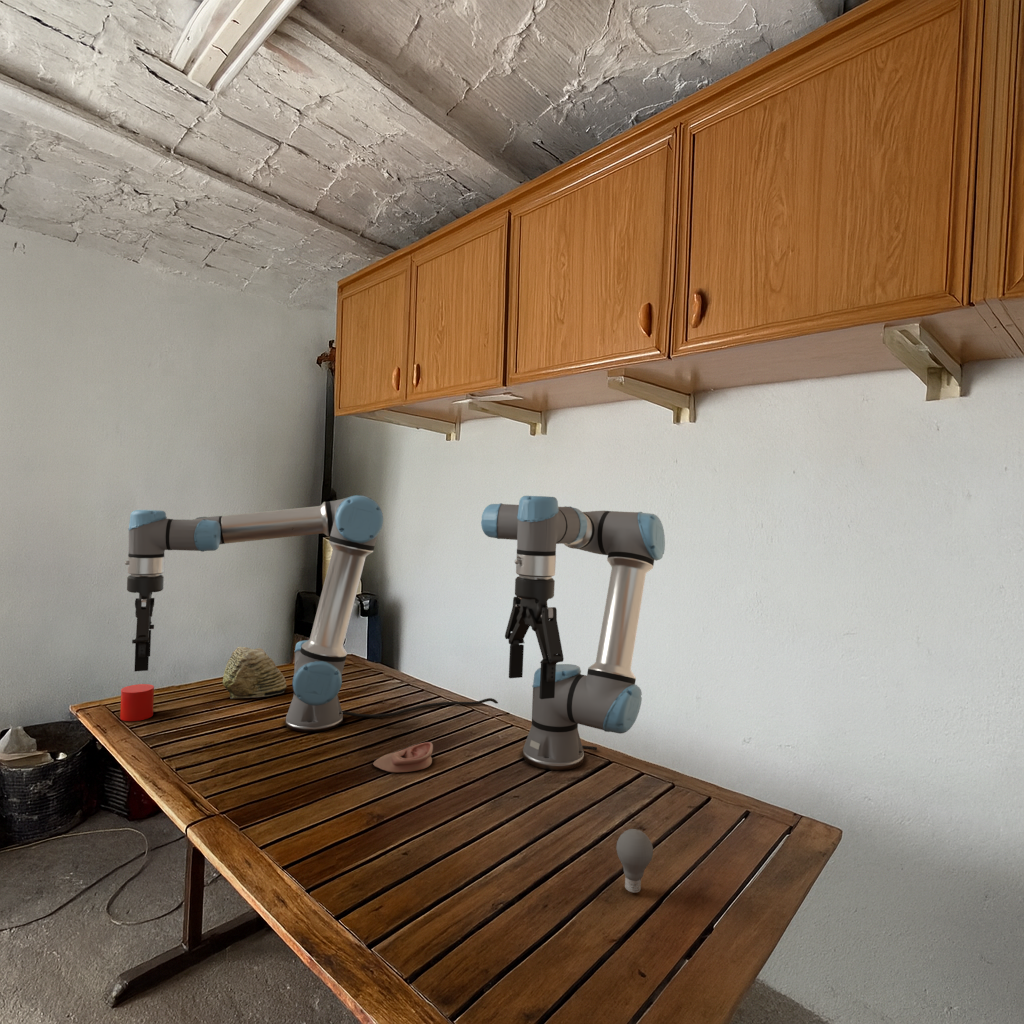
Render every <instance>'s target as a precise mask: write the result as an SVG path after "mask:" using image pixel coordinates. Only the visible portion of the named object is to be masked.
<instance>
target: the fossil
mask: <svg viewBox="0 0 1024 1024" xmlns="http://www.w3.org/2000/svg"><path fill="white" fill-rule="evenodd" d="M222 676H223V677H222V685H223V687H224V688H225V690H226V691H228V693H229V698H230V699H250V698H264V697H271V696H275V695H281V694H284V693H285V691H286V689H287V687H288V686H287V680H286V678H285V676H284V674H283V673H282V672H281V669H279V668H278V667H277V665H276V663H275V662H274V660H273V659H272V658H271V657H270V656H269V655H268V654H267V653H266V652H265V650H264V649H263V648H260V647H258V648H251V647H247V646H246V647H245V646H238V647H237V648H236V649H235V650H233V651H232V653H231V656H230V657H229V659H228V660H227V663H226V666H225V668H224V671H223V675H222Z"/></svg>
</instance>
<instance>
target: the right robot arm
mask: <svg viewBox="0 0 1024 1024" xmlns="http://www.w3.org/2000/svg"><path fill="white" fill-rule="evenodd" d="M480 521H481V522H480V524H481V525H480V526H481V529H482V532H483V534H484V535H485V536H486V537H488V538H490V539H491V538H492V539H497V540H510V541H511V540H512V541H516V546H517V547H516V559H514V564H515V573H516V574H517V575H518V576H516V578H515V579H514V580H515V581H514V595H515V596H513V598H512V599H513V600H512V606H511V607H512V608H511V612H510V615H509V617H508V618H509V619H508V622H507V626H506V630H505V633H504V638H505V640H508V644H509V658H508V659H509V661H508V678H509V679H519V678H523V672H524V650H525V645H524V644H525V636H526V635H527V633H528V631H529V629H530V627H531V630H532V631H534V633H535V636H536V639H537V643H538V646H539V650H540V653H541V657H542V660H540V662H539V664H540V667H539V668H537V669H536V670H535V672H534V674H533V682H532V685H531V687H532V701H531V702H532V705H531V726H530V729H529V731H528V734H527V737H526V739H525V743H524V745H523V747H522V758H523V760H524V761H525V762H526V763H528V764H529V765H531V766H533V767H536V768H538V769H539V768H540V769H543V770H547V771H548V770H550V771H567V770H572V769H575V768H578V767H580V766H581V765H582V764H583V763H584V759H585V751H584V750H589V751H597V750H598V747H597V746H593V745H592V746H591V745H583V743H582V740H581V737H580V733H579V725H580V726H581V725H582V726H585V727H590V728H593V729H597V730H600V731H603V732H605V733H615V734H619V735H620V734H625V733H627V732H629V731H630V730H631V729H632V727H633V725H635V722H636V721H637V718H638V716H639V713H640V710H641V706H642V699H643V698H642V689H641V687H640V686H639V685H638V684H636V679H637V677H636V676H635V674H634V672H633V671H632V664H633V657H634V651H635V645H636V638H637V633H638V628H639V627H638V626H639V620H640V615H641V614H640V613H641V608H642V601H643V595H644V590H645V589H644V588H645V582H646V576H647V574H648V573H649V572H650V571H652V570H653V569H654V564H655V561H660V560H661V559H662V558H663V555H664V554H665V551H666V536H665V530H664V526H663V522H662V521H661V519H660V517H659V516H658V515H656V514H654V513H651V512H650V513H649V512H642V511H637V512H636V511H619V510H618V511H615V510H614V511H613V510H592V511H591V510H590V511H582V510H580V509H579V508H576V507H573V506H567V505H566V506H565V505H564V506H559V501H558V499H557V498H556V497H555V496H542V495H523V496H521V497H520V499H519V502H518V504H508V503H491V504H488V505H486V507H485V508H484V510H483V511H482V514H481V520H480ZM561 544H562V545H564V546H565V547H567V548H569V549H575V550H580V551H584V552H587V553H592V554H597V555H602V556H607V557H606V558H607V559H606V561H607V562H608V564H609V565H610V567H611V569H610V576H609V582H608V588H607V594H606V599H605V605H604V612H603V616H602V621H601V622H602V623H601V628H600V635H599V641H598V647H597V652H596V658H595V662H594V663H593V664H592V665H591V664H590V666H589V667H588V668H587V673H586V675H585V674H582V670H581V667H580V666H579V665H576V664H572V663H571V664H570V663H563V662H564V659H565V658H564V652H563V648H562V647H563V646H562V642H561V637H560V631H559V630H560V629H559V625H558V613H557V612H558V611H557V607H555V606H552V607H551V606H550V607H548V601H549V600H551V599H553V598H554V597H555V582H556V581H555V579H554V578H553V577H554V576H556V563H557V561H556V559H557V555H556V554H557V545H561Z"/></svg>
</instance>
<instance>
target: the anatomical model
mask: <svg viewBox="0 0 1024 1024" xmlns="http://www.w3.org/2000/svg"><path fill="white" fill-rule="evenodd" d="M433 751H434V744H433V743H432V742H430V741H426V742H422V743H418V744H414V745H411V746H408V747H406V748H403V749H401V750H397V751H394V752H390V753H387V754H385V755H382V756H381V757H378V758H377V759H375V760H374V762H373V763H372V764H373V766H374V767H375V768H378V769H380V770H382V771H385V772H388V773H408V772H416V771H420V770H424V769H426V768H428V767H430V766H431V765H432V763H433V758H432V756H431V755H432V754H433Z"/></svg>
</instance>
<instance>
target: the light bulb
mask: <svg viewBox="0 0 1024 1024" xmlns="http://www.w3.org/2000/svg"><path fill="white" fill-rule="evenodd" d="M615 849H616V854H617V857H618V859H619V861H620V863H621V865H622V867H623V873H624V874H623V875H624V876H625V878H624V888H625V890H627V891H628V892H630V893H634V894H635V893H639V892H640V891H641V889H642V887H641V886H642V879H643V877H644V875H645V871H646V868H647V867H648V866H649V864H650V863H651V861H652V859H653V855H654V847H653V843H652V841H651V838H649V836H648V835H647V834H646V833H645V832H643V831H642V830H641V829H636V828H629V829H627V830H625V831H623V832H622V833H621V834H620V835H619V837H618V839H617V841H616V847H615Z"/></svg>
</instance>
